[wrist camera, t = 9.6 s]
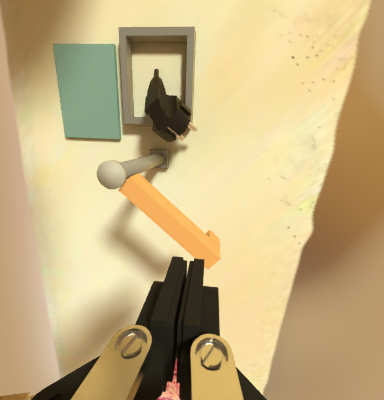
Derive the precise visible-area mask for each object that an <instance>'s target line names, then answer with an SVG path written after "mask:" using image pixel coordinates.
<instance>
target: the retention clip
mask: <svg viewBox="0 0 384 400" xmlns="http://www.w3.org/2000/svg"><path fill="white" fill-rule="evenodd" d="M97 177H98V180H99V182H100V183H101V184H102V185H103V186H104V187H106V188H108V189H116V188H119V187H121V186H122V185H123V184H124V185H123V186H122V187H121V188H120V189H119V191H120V192H121V193H122V194H123V195H124V196H126V197H127V198H128V199H129V200H130V201H131V202H132V203H133V204H135V205H136V206H137V207H138V208H139V209H140V210H141V211H143V212H144V213H145V214H146V215H147V216H148V217H149V218H150V219H152V220H153V221H154V222H155V223H156V224H157V225H158V226H159V227H161V228H162V229H163V230H164V231H165V232H166V233H167V234H169V235H170V236H171V237H172V238H173V239H174V240H175V241H176V242H178V243H179V244H180V245H181V246H182V247H183V248H184V249H185V250H187V251H188V252H189V253H190V254H191V255H192V256H193V257H194V258H196V259H205V260H204V266H205V267H206V268H207V269H209V268H210V267H211V266H213V265H214V264H215V263H216V262H217V261H218V260H220V243H219V238H218V237H217V236H216V235H215V234H214V233H213V232H212V231H211V230H209V231H208V232H207V233H206V234H205V233H204V232H203V231H202V230H200V229H199V228H198V227H197V226H196V225H195V224H194V223H193V222H192V221H191V220H190V219H188V218H187V217H186V216H185V215H184V214H183V213H182V212H181V211H180V210H179V209H177V208H176V207H175V206H174V205H173V204H172V203H171V202H170V201H169V200H168V199H167V198H165V197H164V196H163V195H162V194H161V193H160V192H159V191H158V190H157V189H156V188H154V187H153V186H152V185H151V184H150V183H149V182H148V181H147V180H146V179H145V178H143V177H142V176H141V175H140V174H139V173H138V174H136V175H133V176H131V177H129V179H128V180H127V181H126V179H127V173H126V170H125V168H124V166H123V165H122V164H121V163H119V162H117V161H113V160H111V161H105V162H103V163H101V164H100V165H99V167H98V169H97Z"/></svg>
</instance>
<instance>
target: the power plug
mask: <svg viewBox="0 0 384 400" xmlns="http://www.w3.org/2000/svg"><path fill="white" fill-rule="evenodd" d="M145 112H146V114H147V115H148V114H149V116H150V118H151V119H152V121H153V131H154V132H155V133H156V134H158V135H159V136H160V137H162V138H163V139H164V140H166V141H168V142H171V141H174V140H176V137H177V138H178V139H180V140H181V141H183V140H184V139H185V138H184V136H182V134H183V132H184V131H185V130H186V128H187V127H189V128H190V129H191V130H192V131H193V132H195V131H196V130H197V128H196V127H195V126H194V125H193V124H192V123H191V122H190V116H191V115H192V113H191V110H190V109H189V108H188V107H187V106H186V105H185V104H184V103H183V102H182V101H181V100H180V99H179V98H178V97H177V96H169V95H167V94H166V91H165V88H164V85H163V82H162V79H161V78H160V77H159V71H158V69H155V70H154V78H153V79H152V80H151V82H150V85H149V88H148V91H147V96H146V101H145Z"/></svg>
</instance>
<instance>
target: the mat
mask: <svg viewBox="0 0 384 400" xmlns="http://www.w3.org/2000/svg"><path fill="white" fill-rule="evenodd" d="M53 49H54V56H55V64H56V71H57V79H58V87H59V94H60V102H61V109H62V117H63V124H64V132H65V137H78V138H102V139H121V130H120V112H119V95H118V78H117V60H116V46H115V45H114V44H53Z"/></svg>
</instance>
